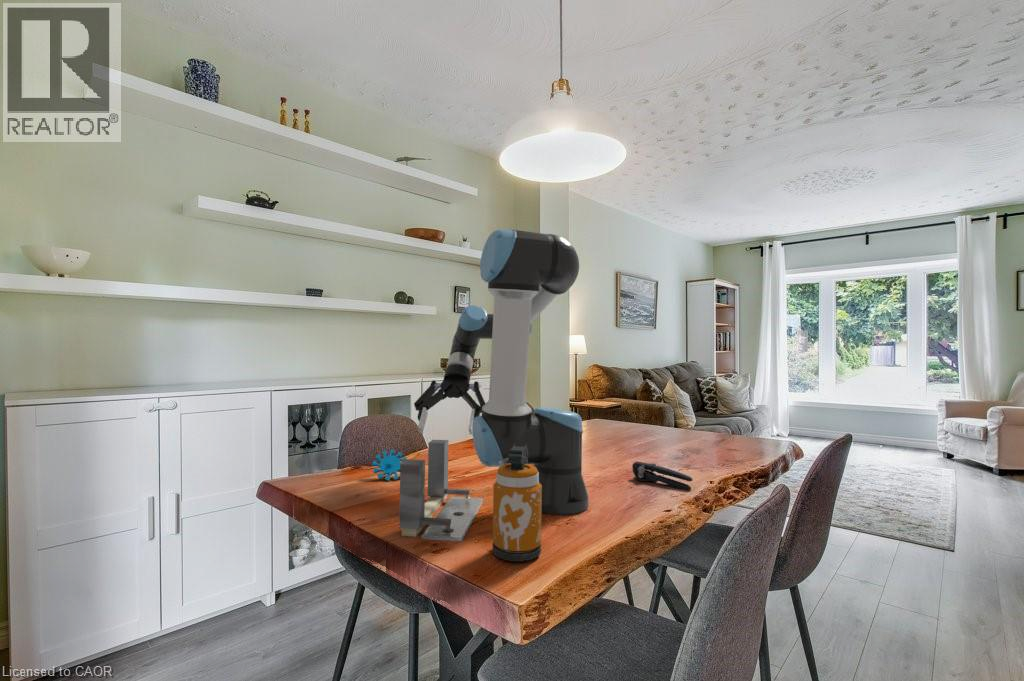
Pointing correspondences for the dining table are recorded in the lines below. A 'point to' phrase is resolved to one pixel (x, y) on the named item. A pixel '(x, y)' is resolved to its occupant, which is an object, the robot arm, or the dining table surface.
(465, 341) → the robot arm
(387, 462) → the blue spiky virus model
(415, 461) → the grey metal fixture
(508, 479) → the canister
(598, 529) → the dining table surface
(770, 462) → the dining table surface
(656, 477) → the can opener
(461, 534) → the bolt plate
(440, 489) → the slide leg
